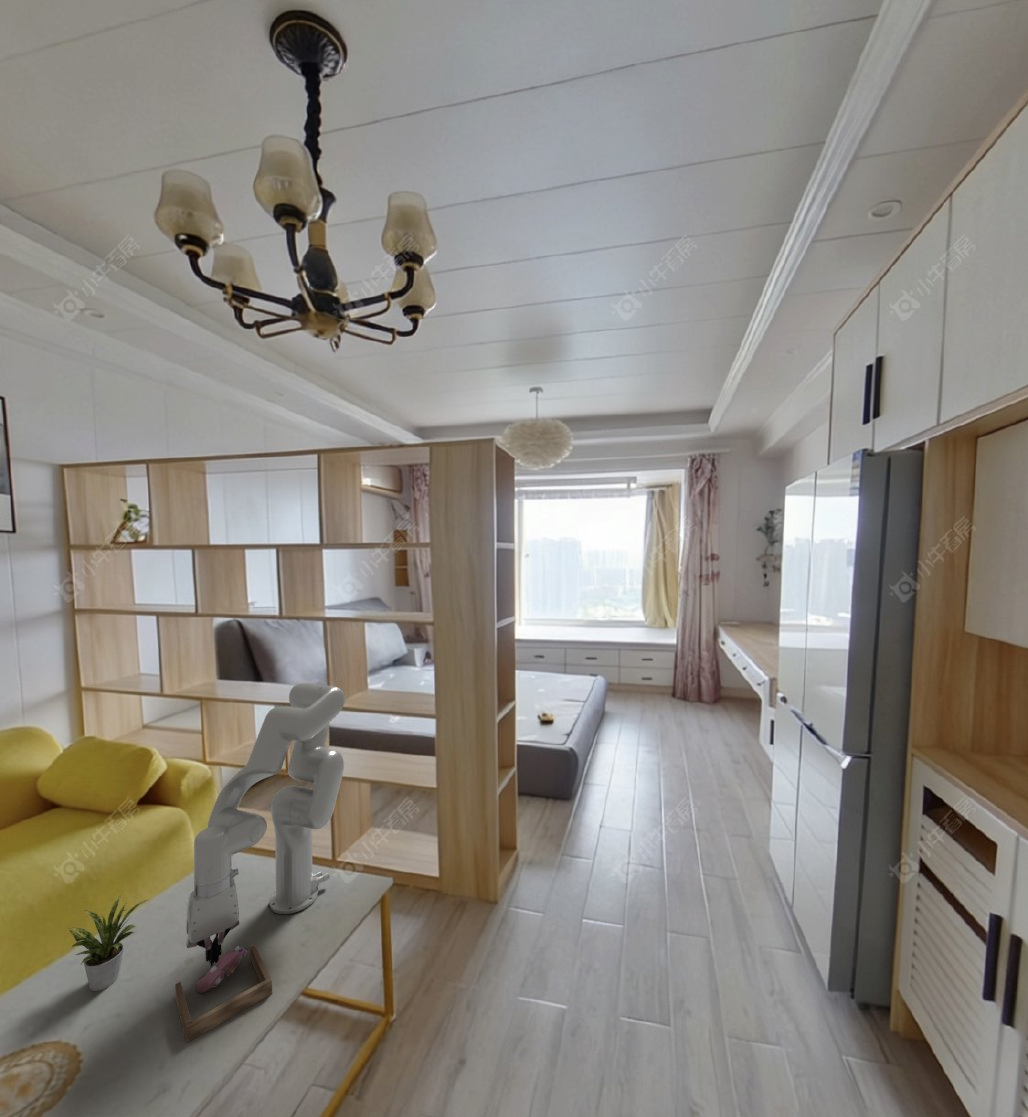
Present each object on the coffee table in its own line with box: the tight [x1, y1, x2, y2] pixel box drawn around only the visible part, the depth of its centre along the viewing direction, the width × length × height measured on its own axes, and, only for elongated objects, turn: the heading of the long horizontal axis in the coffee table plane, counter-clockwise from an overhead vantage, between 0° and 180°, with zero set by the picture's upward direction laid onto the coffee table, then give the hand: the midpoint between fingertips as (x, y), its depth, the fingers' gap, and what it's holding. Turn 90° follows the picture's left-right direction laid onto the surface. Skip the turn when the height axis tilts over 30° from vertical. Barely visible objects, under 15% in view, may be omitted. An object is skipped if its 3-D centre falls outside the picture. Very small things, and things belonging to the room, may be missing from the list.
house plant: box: [68, 894, 148, 992], centre depth 113 cm, size 14×14×16 cm
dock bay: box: [174, 944, 273, 1043], centre depth 108 cm, size 16×14×3 cm
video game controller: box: [194, 945, 248, 994], centre depth 112 cm, size 10×5×7 cm, turn 160°
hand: (213, 960), depth 114 cm, fingers closed
